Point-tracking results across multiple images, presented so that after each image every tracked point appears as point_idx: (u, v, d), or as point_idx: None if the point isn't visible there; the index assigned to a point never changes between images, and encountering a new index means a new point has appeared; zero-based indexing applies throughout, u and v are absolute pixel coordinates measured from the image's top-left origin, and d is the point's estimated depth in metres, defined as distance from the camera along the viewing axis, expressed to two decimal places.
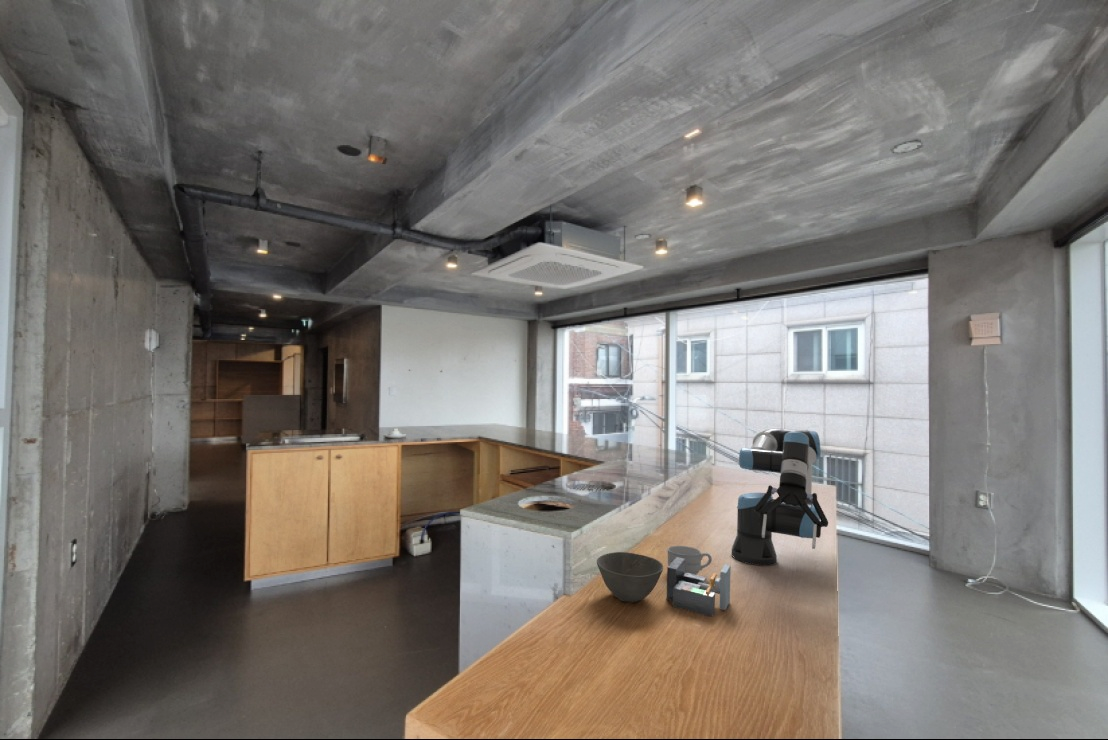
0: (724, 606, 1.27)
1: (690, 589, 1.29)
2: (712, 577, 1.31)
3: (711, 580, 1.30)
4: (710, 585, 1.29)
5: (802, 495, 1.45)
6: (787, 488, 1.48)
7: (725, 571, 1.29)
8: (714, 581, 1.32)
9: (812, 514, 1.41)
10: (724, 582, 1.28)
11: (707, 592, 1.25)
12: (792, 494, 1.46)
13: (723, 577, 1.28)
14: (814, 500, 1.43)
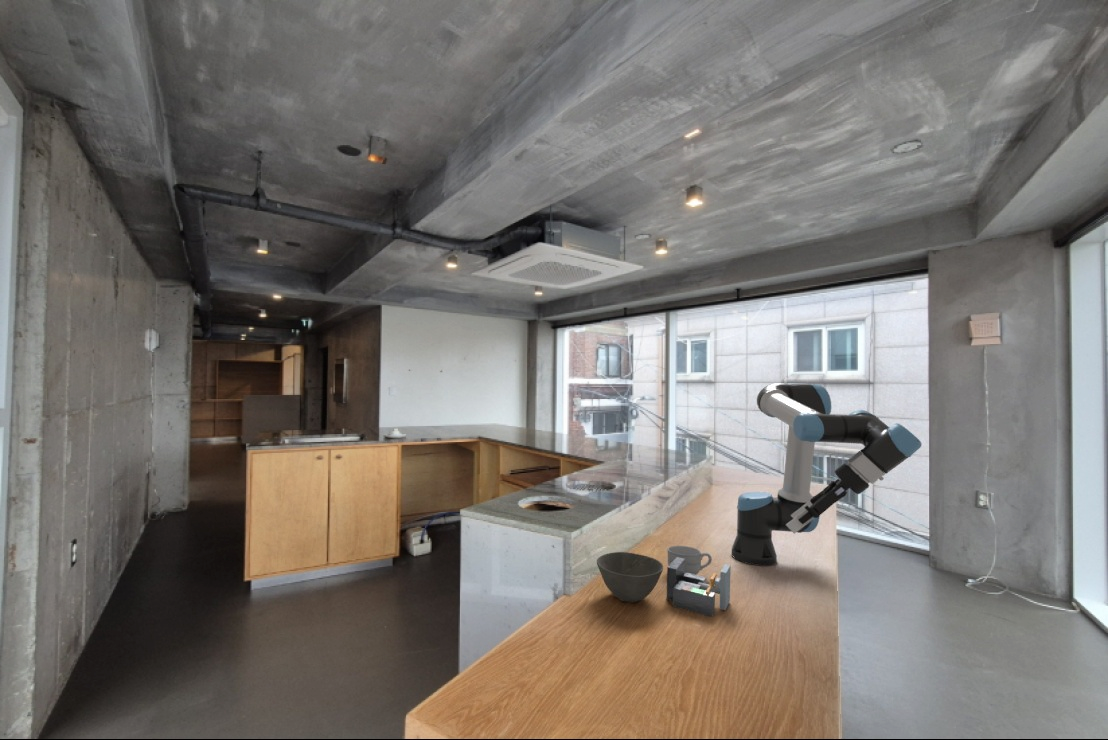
0: (724, 606, 1.27)
1: (690, 589, 1.29)
2: (712, 577, 1.31)
3: (711, 580, 1.30)
4: (710, 585, 1.29)
5: None
6: None
7: (725, 571, 1.29)
8: (714, 581, 1.32)
9: None
10: (724, 582, 1.28)
11: (707, 592, 1.25)
12: None
13: (723, 577, 1.28)
14: None
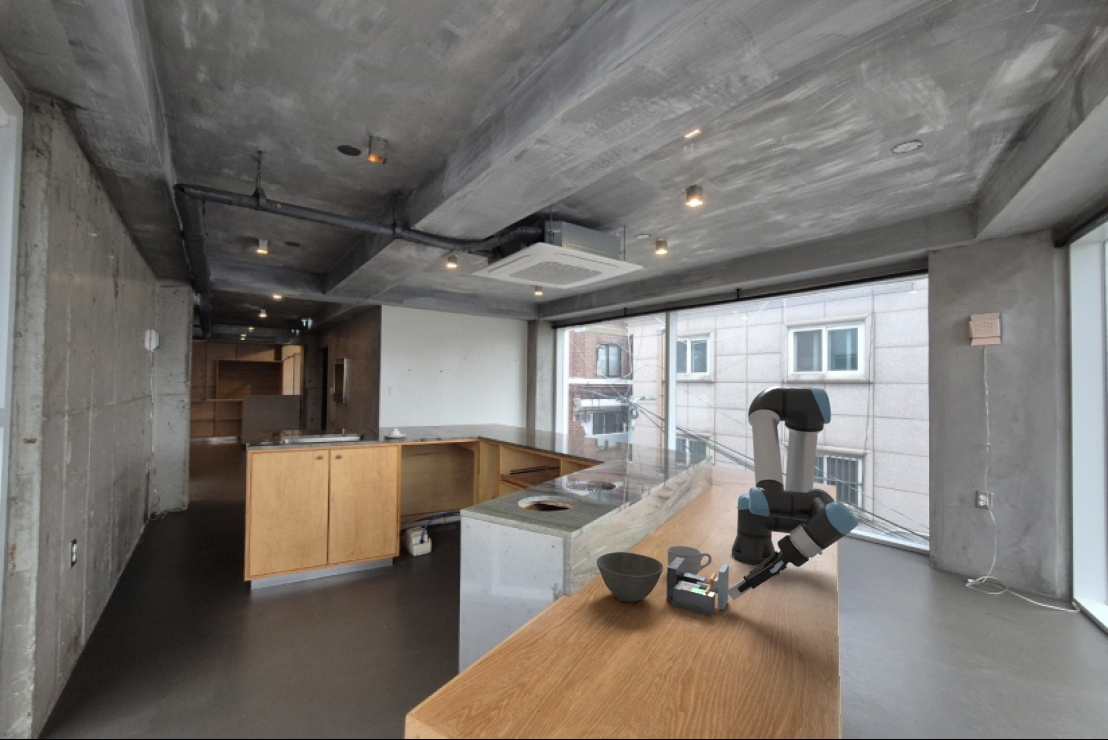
0: (722, 606, 1.28)
1: (690, 589, 1.29)
2: (711, 577, 1.32)
3: (710, 580, 1.30)
4: (709, 585, 1.29)
5: None
6: None
7: (723, 571, 1.29)
8: None
9: None
10: (722, 582, 1.28)
11: (706, 592, 1.25)
12: None
13: (721, 576, 1.28)
14: None
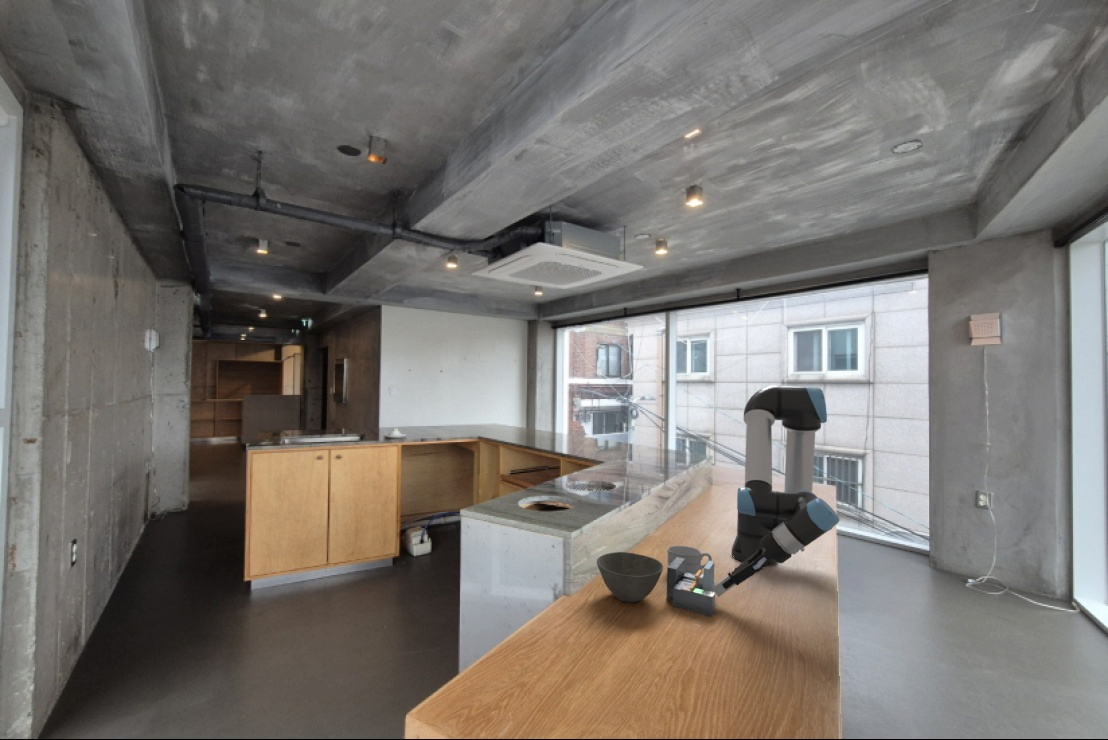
0: None
1: None
2: (697, 574, 1.34)
3: (696, 576, 1.32)
4: (695, 581, 1.31)
5: None
6: None
7: (708, 567, 1.31)
8: None
9: None
10: (707, 578, 1.30)
11: (691, 588, 1.27)
12: None
13: (706, 573, 1.30)
14: None
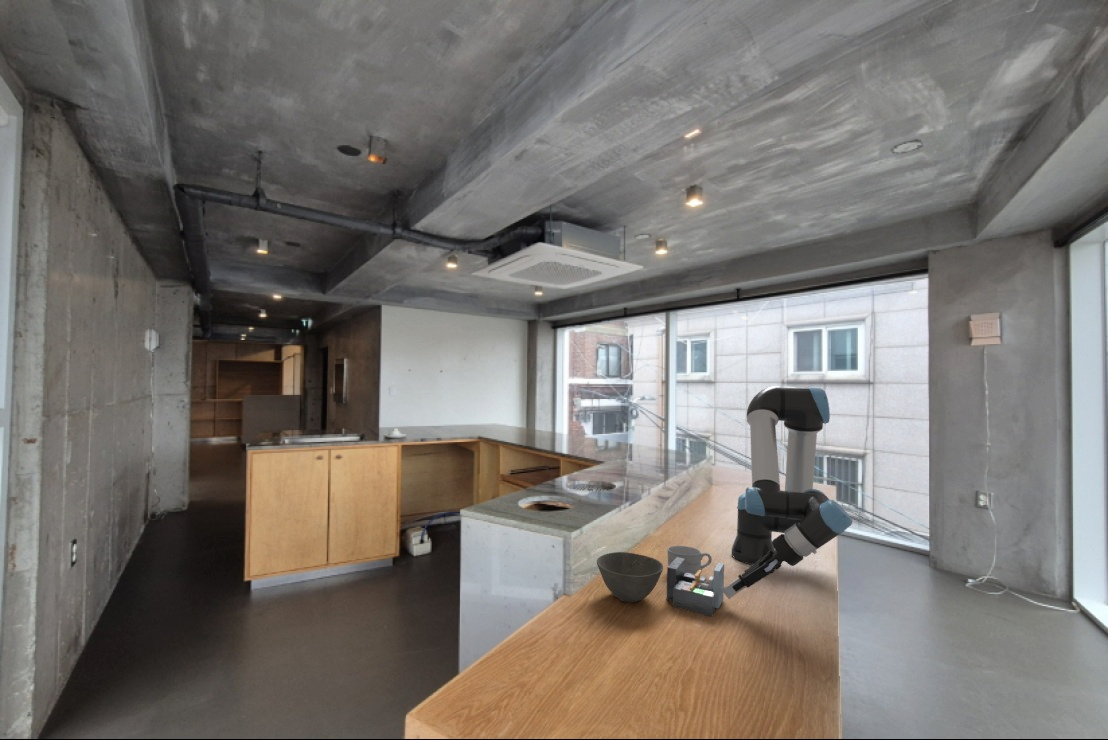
0: (717, 604, 1.28)
1: None
2: (697, 574, 1.34)
3: (696, 576, 1.32)
4: (695, 581, 1.32)
5: None
6: None
7: (718, 570, 1.29)
8: (699, 577, 1.34)
9: None
10: (717, 580, 1.29)
11: (691, 588, 1.27)
12: None
13: (716, 575, 1.29)
14: None
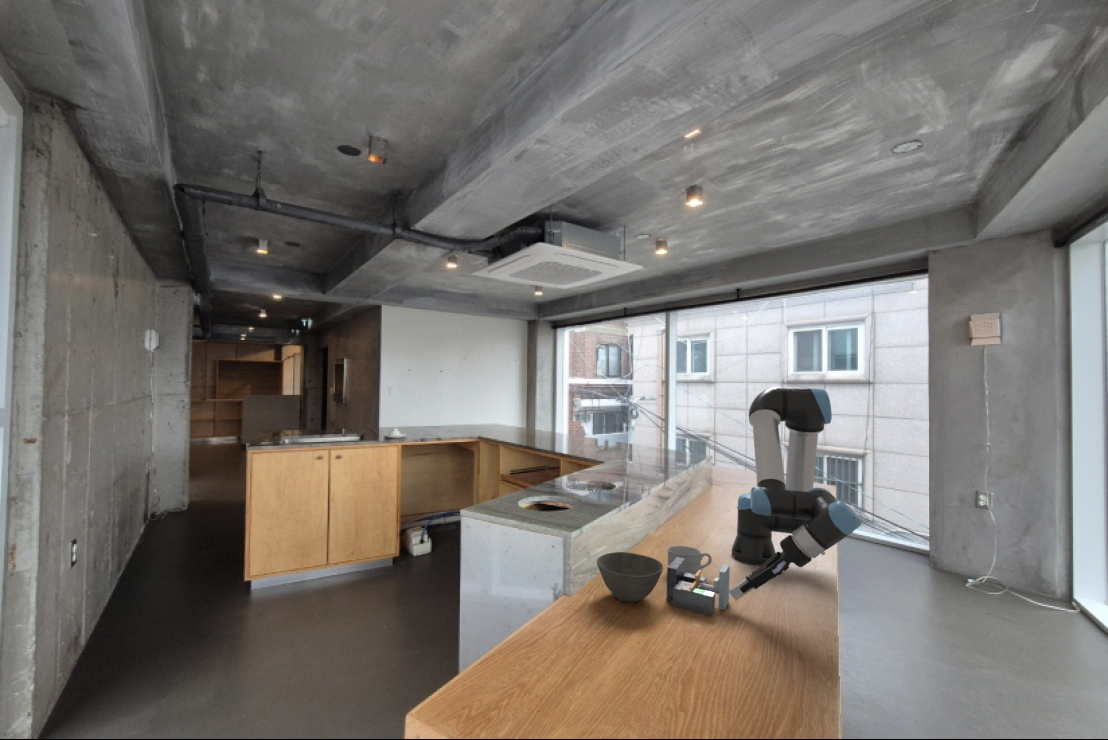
0: (723, 606, 1.27)
1: None
2: (697, 574, 1.34)
3: (696, 576, 1.32)
4: (695, 581, 1.32)
5: None
6: None
7: (724, 571, 1.29)
8: (699, 577, 1.34)
9: None
10: (723, 582, 1.28)
11: (691, 588, 1.27)
12: None
13: (721, 576, 1.28)
14: None
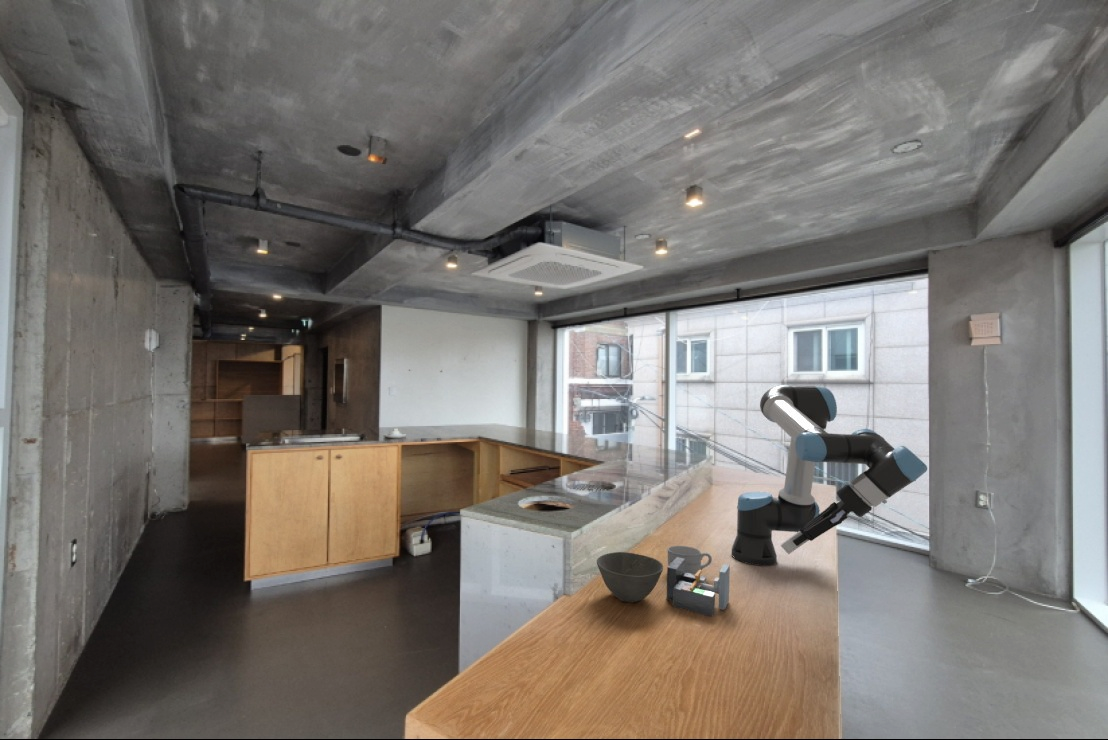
0: (723, 606, 1.27)
1: None
2: (697, 574, 1.34)
3: (696, 576, 1.32)
4: (695, 581, 1.32)
5: None
6: None
7: (724, 571, 1.29)
8: (699, 577, 1.34)
9: None
10: (723, 582, 1.28)
11: (691, 588, 1.27)
12: None
13: (721, 576, 1.28)
14: None
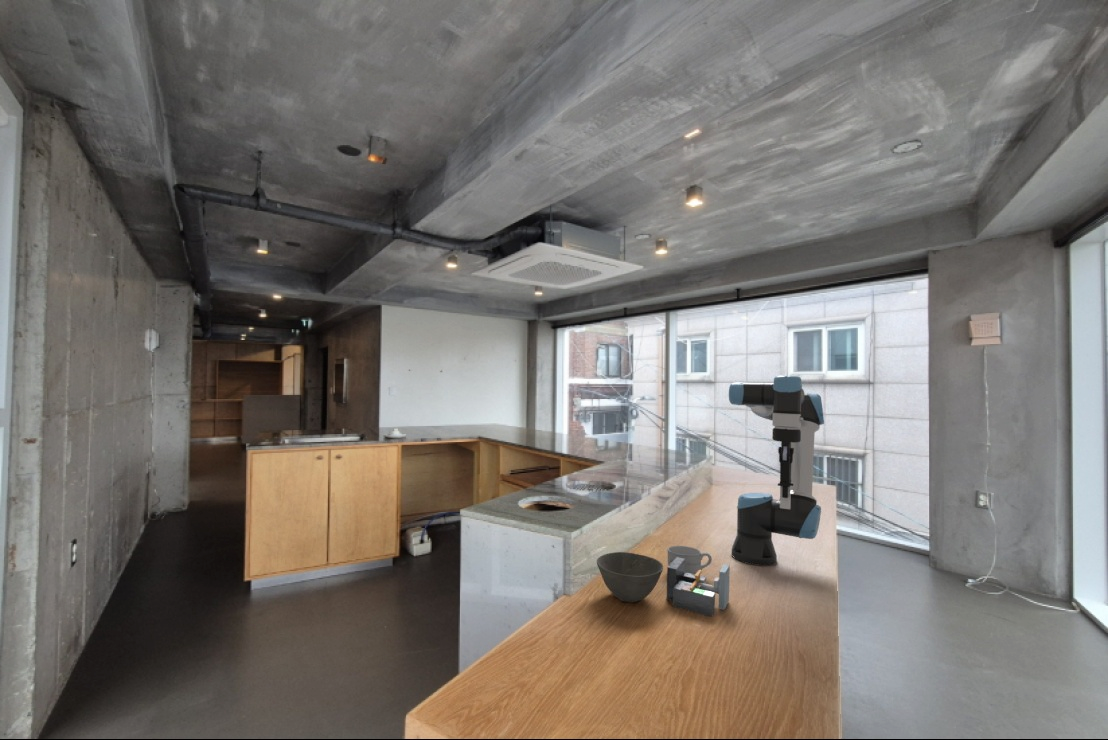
0: (723, 606, 1.27)
1: None
2: (697, 574, 1.34)
3: (696, 576, 1.32)
4: (695, 581, 1.32)
5: None
6: (789, 442, 1.36)
7: (724, 571, 1.29)
8: (699, 577, 1.34)
9: (790, 473, 1.39)
10: (723, 582, 1.28)
11: (691, 588, 1.27)
12: (790, 447, 1.38)
13: (721, 576, 1.28)
14: None
